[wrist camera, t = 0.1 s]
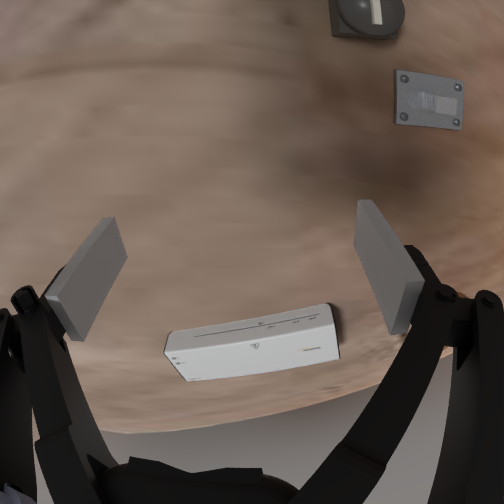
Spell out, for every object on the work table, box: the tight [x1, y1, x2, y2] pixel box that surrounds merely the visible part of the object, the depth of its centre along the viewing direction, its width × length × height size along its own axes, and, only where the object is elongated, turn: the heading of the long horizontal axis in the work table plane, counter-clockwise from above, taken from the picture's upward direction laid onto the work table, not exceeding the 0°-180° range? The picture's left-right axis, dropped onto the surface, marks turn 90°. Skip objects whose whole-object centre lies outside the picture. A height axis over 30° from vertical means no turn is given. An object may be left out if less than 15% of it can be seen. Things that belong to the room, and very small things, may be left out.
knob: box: [328, 0, 405, 40], centre depth 26 cm, size 8×8×8 cm
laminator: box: [164, 303, 340, 381], centre depth 61 cm, size 34×12×6 cm, turn 107°
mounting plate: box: [394, 70, 464, 130], centre depth 33 cm, size 8×12×5 cm, turn 95°
